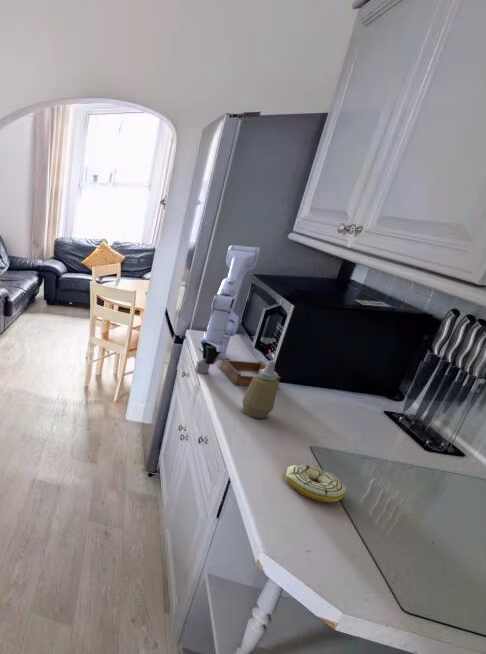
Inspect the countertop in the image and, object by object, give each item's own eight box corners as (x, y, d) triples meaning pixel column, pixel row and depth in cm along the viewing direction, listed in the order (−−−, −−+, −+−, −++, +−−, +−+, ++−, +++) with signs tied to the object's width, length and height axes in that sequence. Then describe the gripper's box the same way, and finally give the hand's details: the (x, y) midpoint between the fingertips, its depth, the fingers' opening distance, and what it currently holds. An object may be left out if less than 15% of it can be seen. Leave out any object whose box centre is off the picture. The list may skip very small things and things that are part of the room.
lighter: (196, 372, 148) (201, 353, 144) (194, 370, 149) (199, 351, 146) (216, 373, 147) (221, 354, 143) (214, 371, 148) (220, 352, 145)
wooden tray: (219, 367, 151) (222, 358, 150) (258, 370, 149) (261, 361, 148) (234, 384, 139) (238, 374, 137) (277, 388, 137) (280, 377, 136)
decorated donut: (298, 468, 99) (303, 456, 97) (350, 496, 90) (356, 483, 89) (274, 480, 94) (279, 468, 93) (326, 512, 86) (333, 498, 84)
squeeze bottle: (260, 407, 125) (278, 356, 118) (275, 421, 118) (295, 368, 111) (234, 405, 126) (250, 354, 119) (247, 419, 119) (265, 366, 111)
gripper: (198, 320, 148) (189, 353, 153) (212, 334, 135) (203, 369, 140) (218, 321, 147) (209, 354, 152) (234, 335, 134) (224, 371, 139)
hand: (207, 362), depth 146 cm, fingers closed
